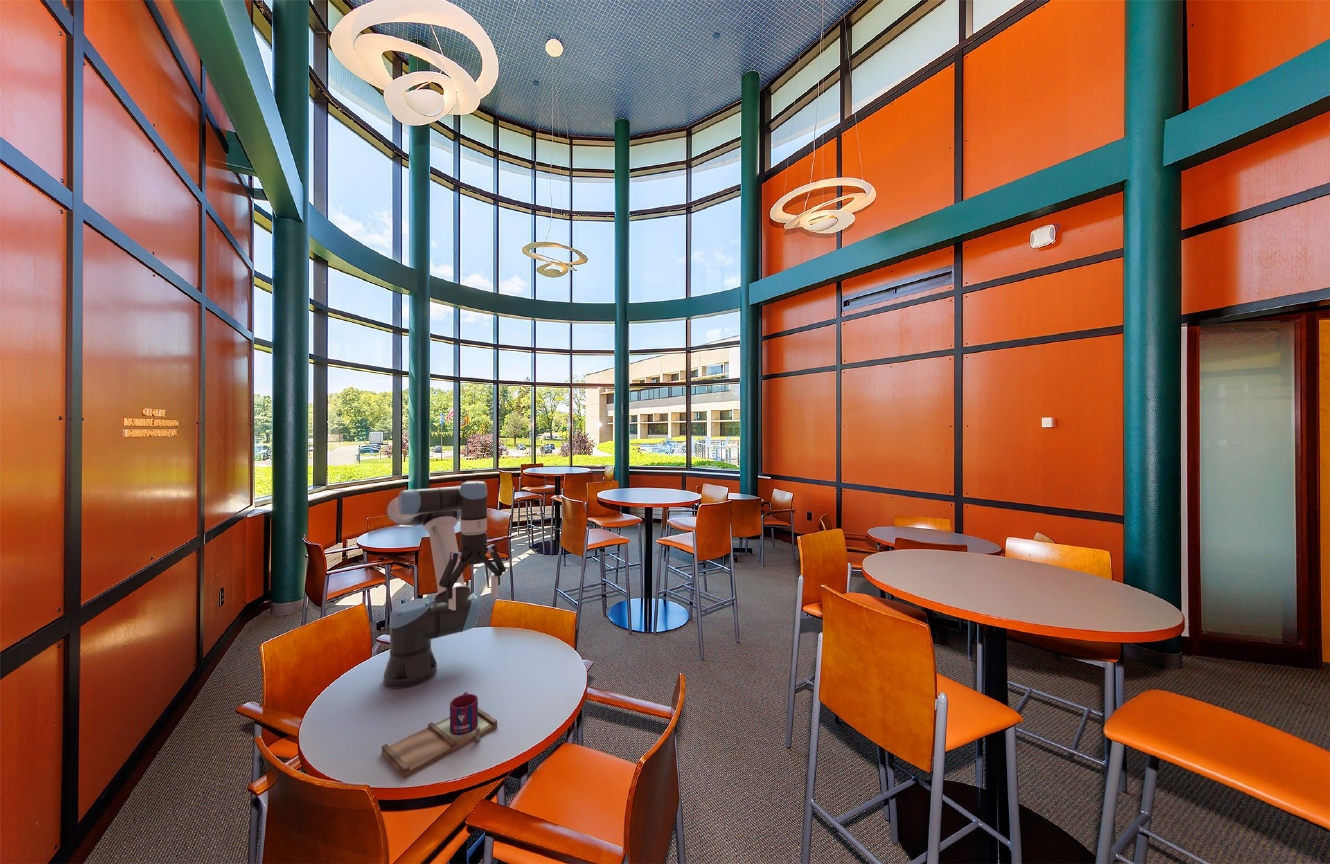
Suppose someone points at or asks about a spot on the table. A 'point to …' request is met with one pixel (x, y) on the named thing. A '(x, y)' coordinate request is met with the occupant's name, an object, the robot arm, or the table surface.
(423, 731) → the brown divided flat frame
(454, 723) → the mug
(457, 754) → the table surface
